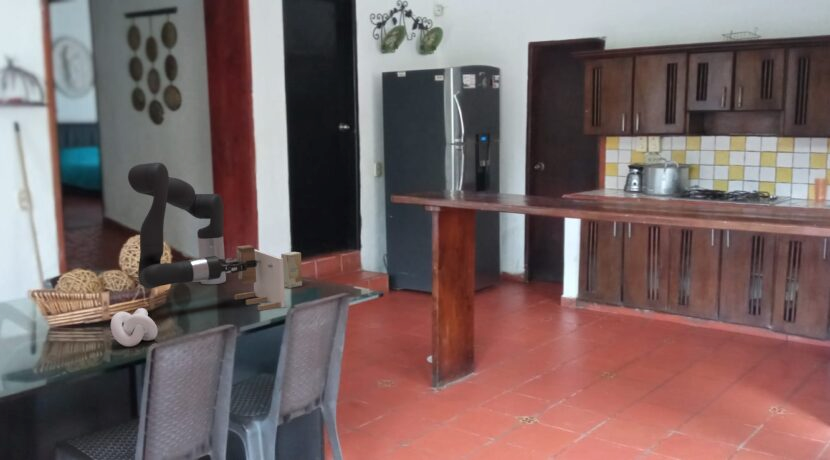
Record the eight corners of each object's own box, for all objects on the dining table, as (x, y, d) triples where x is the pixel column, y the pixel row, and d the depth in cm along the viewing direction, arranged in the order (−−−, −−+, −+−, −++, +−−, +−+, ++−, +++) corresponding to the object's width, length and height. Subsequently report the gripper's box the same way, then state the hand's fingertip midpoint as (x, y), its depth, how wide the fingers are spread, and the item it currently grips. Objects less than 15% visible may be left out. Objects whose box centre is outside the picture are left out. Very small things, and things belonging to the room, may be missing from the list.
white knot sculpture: (112, 339, 219) (110, 308, 217) (157, 333, 223) (154, 303, 222) (112, 350, 208) (109, 318, 207) (158, 344, 212) (156, 312, 211)
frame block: (238, 281, 259) (235, 246, 257) (250, 279, 262) (249, 245, 260) (243, 284, 255) (241, 248, 253) (256, 282, 258) (254, 247, 256)
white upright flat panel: (233, 298, 263) (231, 252, 261) (257, 294, 268) (255, 249, 265) (260, 311, 245) (257, 262, 243) (285, 306, 250) (282, 258, 248)
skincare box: (290, 288, 276) (288, 255, 274) (281, 287, 279) (280, 253, 277) (303, 285, 281) (301, 252, 279) (294, 283, 284) (293, 251, 282)
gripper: (210, 261, 243) (261, 254, 253) (195, 254, 255) (244, 247, 264) (212, 284, 244) (262, 276, 254) (196, 276, 256) (245, 269, 265)
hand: (252, 262), depth 259 cm, fingers closed on frame block, 4 cm apart
